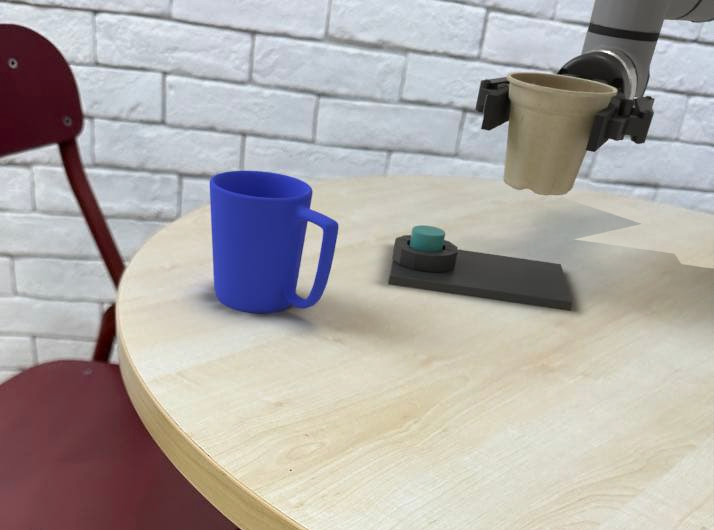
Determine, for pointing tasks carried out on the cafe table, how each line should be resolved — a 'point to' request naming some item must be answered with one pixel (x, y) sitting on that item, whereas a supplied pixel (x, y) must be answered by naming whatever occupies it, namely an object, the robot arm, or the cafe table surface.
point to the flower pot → (550, 129)
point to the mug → (264, 240)
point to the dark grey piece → (479, 275)
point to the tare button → (427, 238)
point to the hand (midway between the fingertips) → (540, 122)
